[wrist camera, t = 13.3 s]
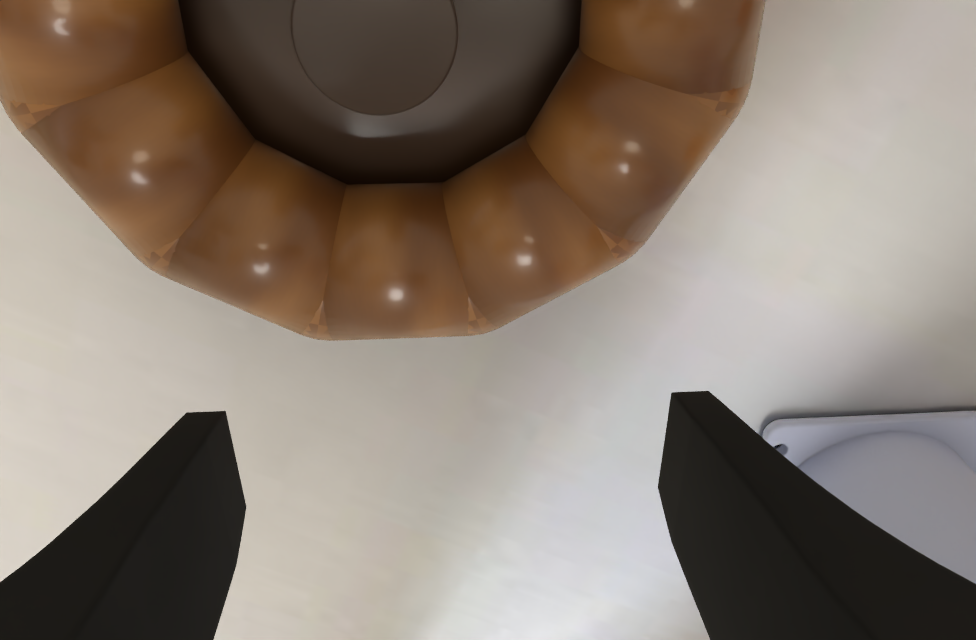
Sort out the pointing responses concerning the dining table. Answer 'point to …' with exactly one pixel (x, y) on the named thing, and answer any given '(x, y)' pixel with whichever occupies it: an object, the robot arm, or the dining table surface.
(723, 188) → the dining table surface
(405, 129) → the stand
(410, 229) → the ring
